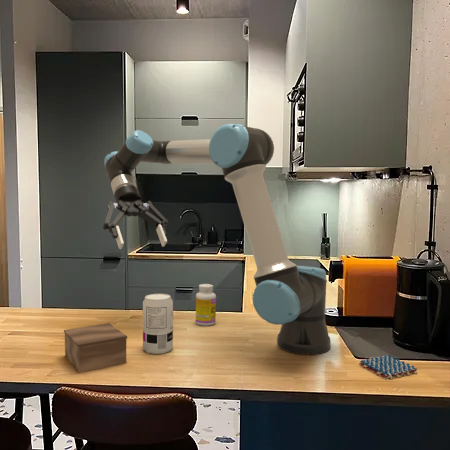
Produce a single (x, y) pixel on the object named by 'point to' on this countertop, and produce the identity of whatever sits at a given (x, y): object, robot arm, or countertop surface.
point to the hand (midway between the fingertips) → (143, 245)
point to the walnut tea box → (95, 347)
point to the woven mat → (387, 367)
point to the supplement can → (157, 323)
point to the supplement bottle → (205, 305)
